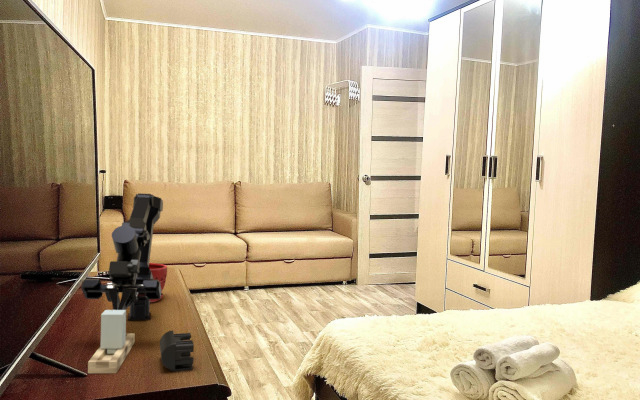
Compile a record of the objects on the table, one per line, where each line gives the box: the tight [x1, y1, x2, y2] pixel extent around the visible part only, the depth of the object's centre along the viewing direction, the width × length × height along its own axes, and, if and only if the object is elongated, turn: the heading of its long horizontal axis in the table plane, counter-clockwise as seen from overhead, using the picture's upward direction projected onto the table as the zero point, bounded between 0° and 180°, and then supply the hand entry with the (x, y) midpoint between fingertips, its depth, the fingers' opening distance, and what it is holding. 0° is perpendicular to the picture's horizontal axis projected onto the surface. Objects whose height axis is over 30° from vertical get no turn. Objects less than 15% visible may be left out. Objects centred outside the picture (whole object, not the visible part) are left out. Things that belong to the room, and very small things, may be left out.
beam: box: [87, 332, 136, 374], centre depth 127 cm, size 20×6×3 cm, turn 8°
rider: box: [100, 309, 127, 354], centre depth 127 cm, size 4×5×10 cm
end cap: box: [159, 329, 195, 373], centre depth 125 cm, size 10×7×7 cm
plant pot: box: [149, 262, 168, 303], centre depth 180 cm, size 13×13×12 cm
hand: (116, 319), depth 130 cm, fingers closed
